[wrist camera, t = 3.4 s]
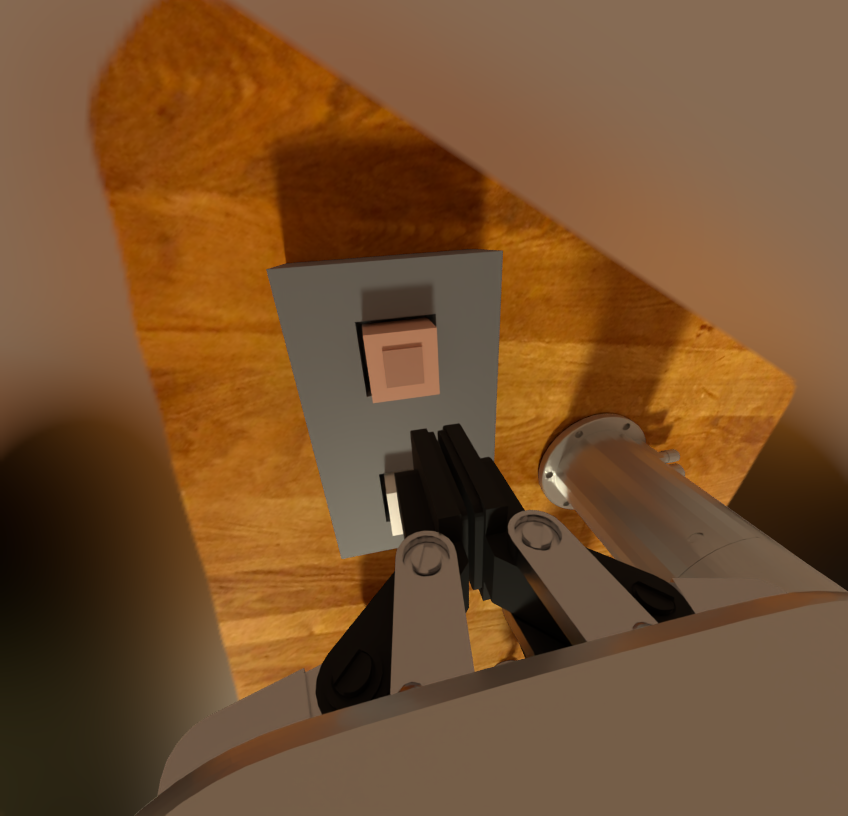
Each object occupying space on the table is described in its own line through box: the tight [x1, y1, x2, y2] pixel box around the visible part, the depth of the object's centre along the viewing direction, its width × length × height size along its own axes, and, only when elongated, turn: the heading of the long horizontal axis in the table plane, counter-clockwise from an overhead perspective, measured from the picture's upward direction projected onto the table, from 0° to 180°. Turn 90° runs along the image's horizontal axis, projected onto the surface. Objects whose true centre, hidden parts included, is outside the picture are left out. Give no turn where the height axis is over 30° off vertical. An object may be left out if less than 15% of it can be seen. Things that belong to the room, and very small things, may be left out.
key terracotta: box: [362, 318, 440, 403], centre depth 22 cm, size 4×4×3 cm
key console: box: [266, 249, 503, 559], centre depth 28 cm, size 14×24×6 cm, turn 4°
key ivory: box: [384, 469, 414, 536], centre depth 27 cm, size 4×4×3 cm
